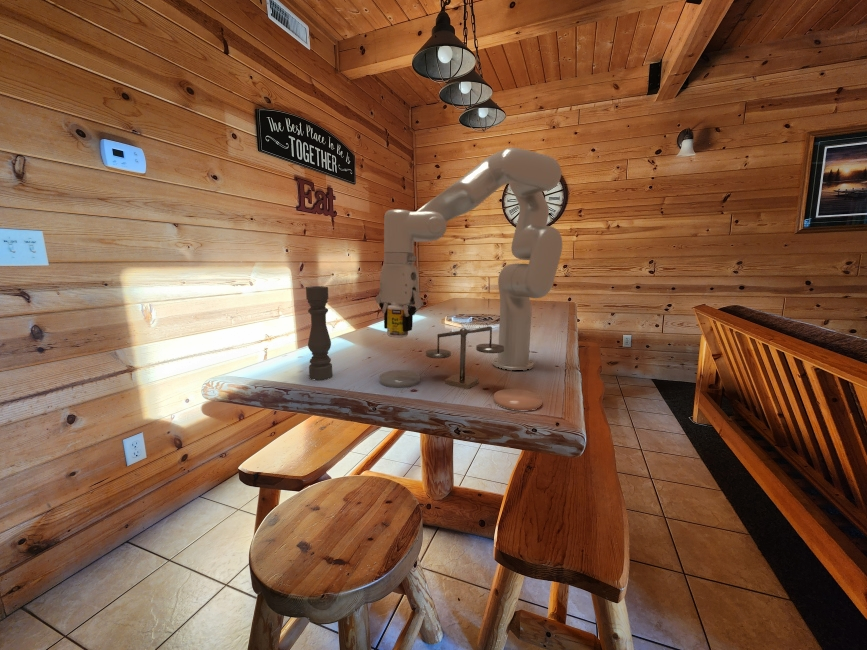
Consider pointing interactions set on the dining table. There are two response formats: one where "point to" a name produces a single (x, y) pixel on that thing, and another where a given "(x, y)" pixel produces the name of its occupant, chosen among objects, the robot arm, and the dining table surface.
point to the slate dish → (399, 378)
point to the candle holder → (319, 333)
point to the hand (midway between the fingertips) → (398, 328)
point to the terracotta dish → (517, 399)
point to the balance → (464, 355)
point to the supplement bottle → (395, 321)
